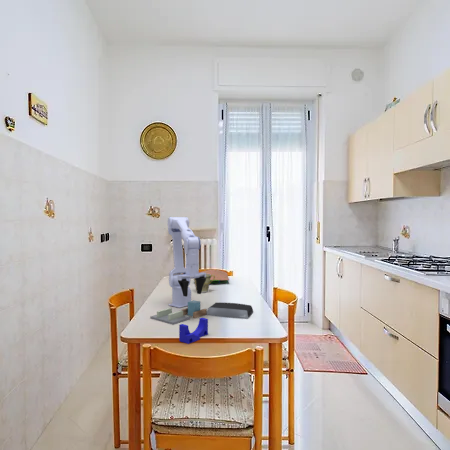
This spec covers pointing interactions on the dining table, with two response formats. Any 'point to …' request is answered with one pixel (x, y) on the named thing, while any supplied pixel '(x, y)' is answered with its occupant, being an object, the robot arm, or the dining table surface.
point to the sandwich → (217, 275)
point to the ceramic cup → (206, 284)
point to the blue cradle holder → (194, 336)
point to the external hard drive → (230, 310)
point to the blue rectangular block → (193, 307)
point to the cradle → (195, 314)
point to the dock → (170, 316)
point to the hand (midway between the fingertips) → (192, 294)
